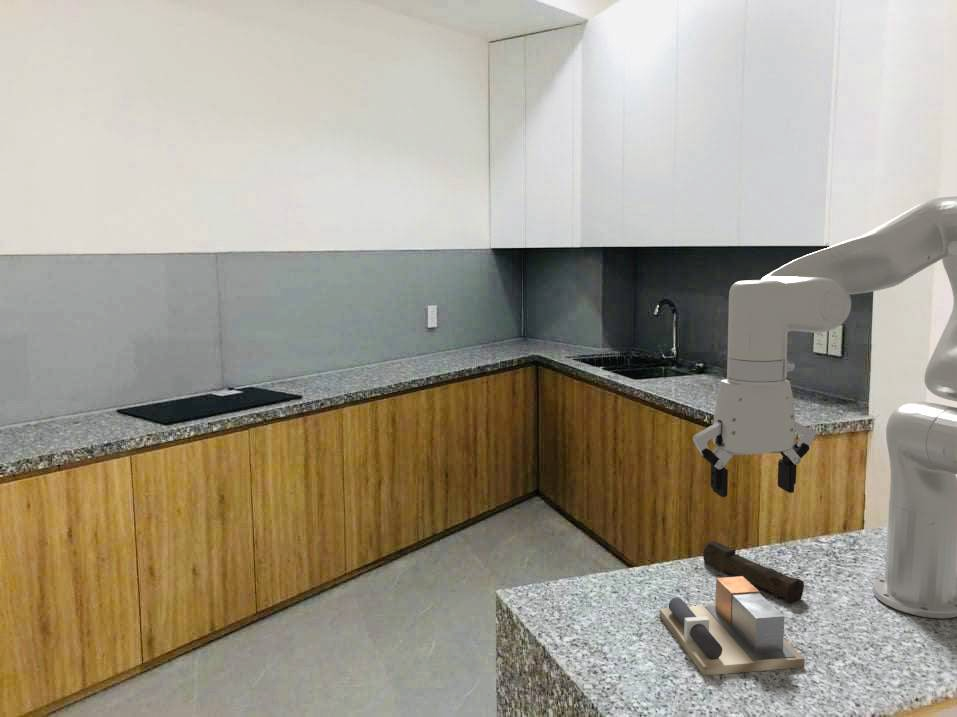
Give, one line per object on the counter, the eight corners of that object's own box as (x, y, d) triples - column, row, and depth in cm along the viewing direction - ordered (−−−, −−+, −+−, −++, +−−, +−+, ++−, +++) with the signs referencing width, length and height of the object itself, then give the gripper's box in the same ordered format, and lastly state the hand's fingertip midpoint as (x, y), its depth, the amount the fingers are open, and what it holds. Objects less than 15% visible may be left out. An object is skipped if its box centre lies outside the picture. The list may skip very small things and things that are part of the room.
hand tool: (805, 601, 114) (807, 573, 113) (788, 607, 112) (790, 579, 111) (714, 559, 130) (715, 535, 130) (698, 564, 128) (699, 539, 128)
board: (746, 609, 111) (746, 601, 110) (804, 667, 95) (804, 657, 95) (659, 616, 109) (659, 608, 109) (703, 675, 93) (703, 666, 93)
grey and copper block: (741, 608, 108) (742, 576, 108) (783, 650, 96) (785, 614, 96) (715, 610, 108) (716, 578, 107) (754, 653, 96) (755, 617, 95)
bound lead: (686, 614, 108) (686, 593, 107) (724, 662, 95) (725, 638, 95) (665, 616, 108) (666, 595, 107) (701, 663, 95) (702, 640, 94)
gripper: (800, 364, 102) (796, 480, 104) (684, 369, 100) (682, 487, 102) (832, 372, 94) (827, 497, 97) (707, 378, 92) (704, 504, 95)
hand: (752, 491), depth 99 cm, fingers open, 9 cm apart
